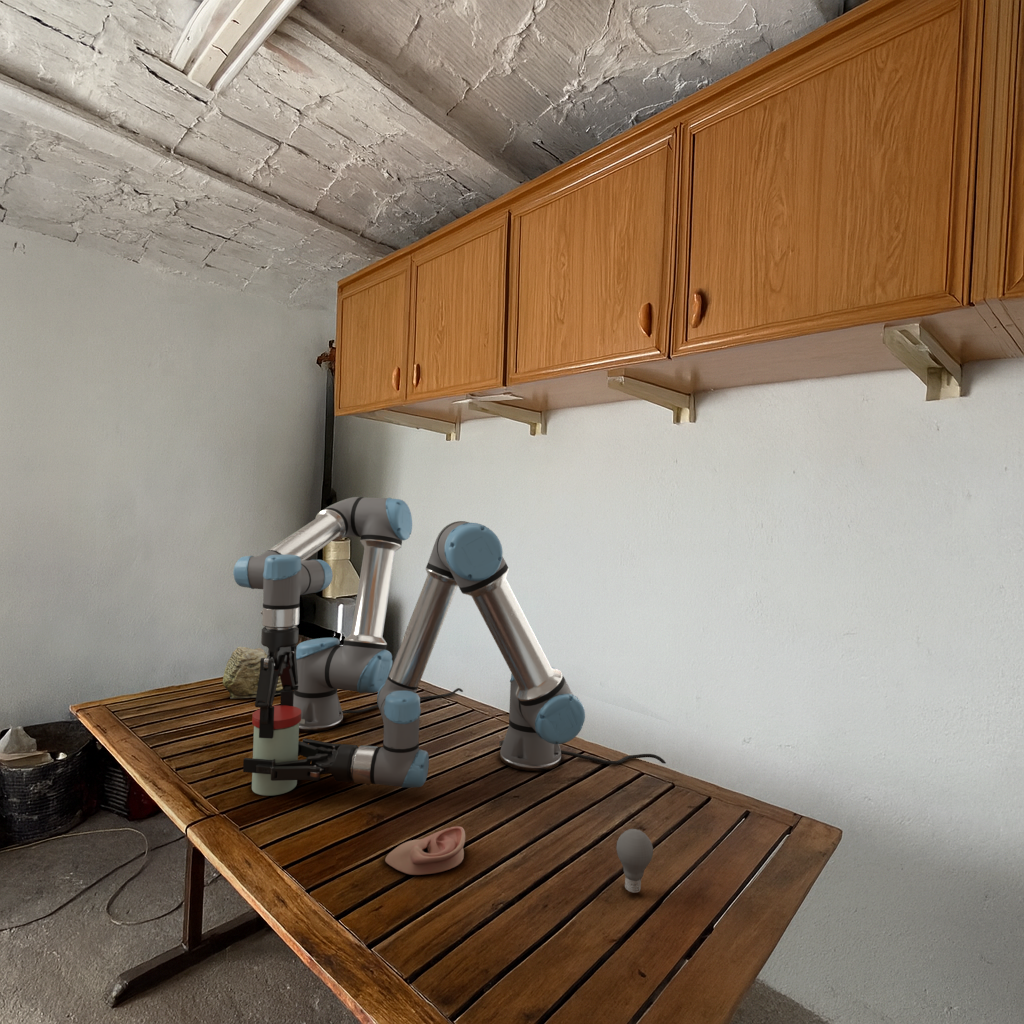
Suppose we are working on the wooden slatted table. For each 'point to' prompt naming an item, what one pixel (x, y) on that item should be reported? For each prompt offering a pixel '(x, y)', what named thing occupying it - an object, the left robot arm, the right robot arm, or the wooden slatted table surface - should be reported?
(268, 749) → the jar
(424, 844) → the anatomical model
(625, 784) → the wooden slatted table surface
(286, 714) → the lid
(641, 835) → the light bulb
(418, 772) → the right robot arm
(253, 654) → the fossil
